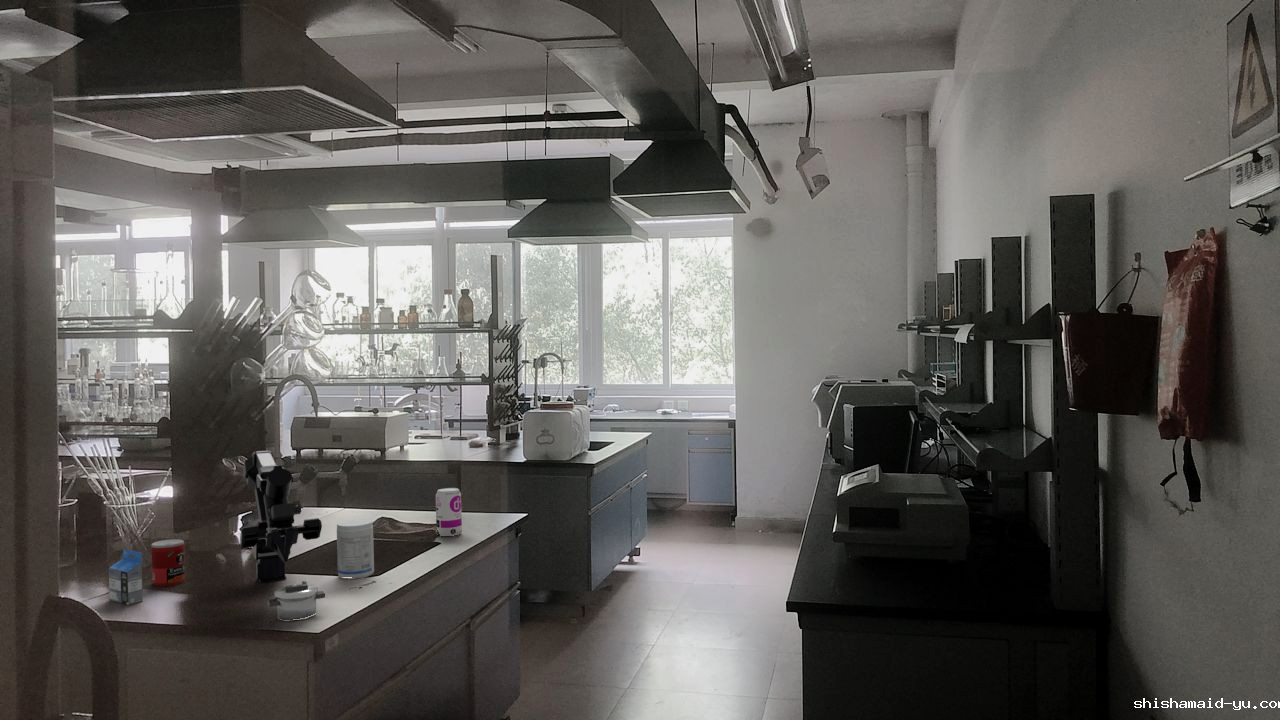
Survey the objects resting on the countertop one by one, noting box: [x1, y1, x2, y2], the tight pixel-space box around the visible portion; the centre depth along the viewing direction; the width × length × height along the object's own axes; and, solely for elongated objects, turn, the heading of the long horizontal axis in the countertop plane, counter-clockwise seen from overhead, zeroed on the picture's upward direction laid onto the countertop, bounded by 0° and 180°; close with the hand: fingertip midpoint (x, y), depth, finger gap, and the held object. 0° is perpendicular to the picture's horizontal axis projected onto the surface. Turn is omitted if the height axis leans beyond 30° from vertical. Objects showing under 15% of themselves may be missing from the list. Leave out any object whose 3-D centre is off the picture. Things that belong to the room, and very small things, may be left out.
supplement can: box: [435, 487, 463, 537], centre depth 281 cm, size 8×8×15 cm
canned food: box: [150, 538, 186, 587], centre depth 229 cm, size 8×8×11 cm
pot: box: [267, 590, 326, 620], centre depth 198 cm, size 12×10×5 cm
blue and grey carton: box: [108, 548, 143, 606], centre depth 213 cm, size 9×4×12 cm, turn 59°
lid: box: [274, 580, 319, 600], centre depth 198 cm, size 10×9×2 cm
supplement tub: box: [336, 518, 375, 580], centre depth 233 cm, size 10×10×15 cm
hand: (286, 561), depth 210 cm, fingers closed
